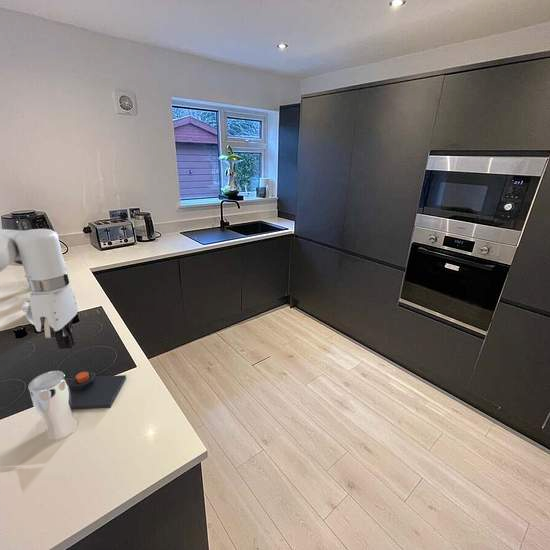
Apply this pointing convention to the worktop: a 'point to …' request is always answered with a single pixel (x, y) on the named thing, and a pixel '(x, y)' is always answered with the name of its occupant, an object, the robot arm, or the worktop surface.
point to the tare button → (82, 377)
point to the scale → (95, 391)
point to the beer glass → (54, 403)
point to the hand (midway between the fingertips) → (67, 346)
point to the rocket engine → (28, 312)
